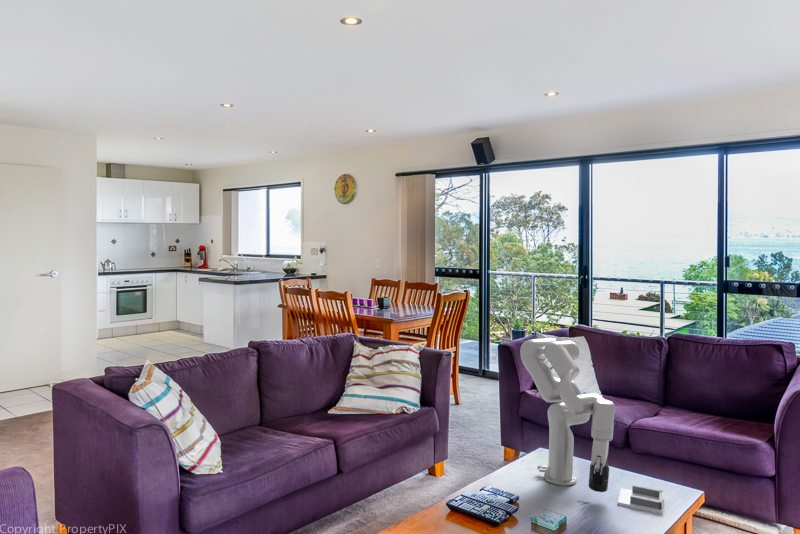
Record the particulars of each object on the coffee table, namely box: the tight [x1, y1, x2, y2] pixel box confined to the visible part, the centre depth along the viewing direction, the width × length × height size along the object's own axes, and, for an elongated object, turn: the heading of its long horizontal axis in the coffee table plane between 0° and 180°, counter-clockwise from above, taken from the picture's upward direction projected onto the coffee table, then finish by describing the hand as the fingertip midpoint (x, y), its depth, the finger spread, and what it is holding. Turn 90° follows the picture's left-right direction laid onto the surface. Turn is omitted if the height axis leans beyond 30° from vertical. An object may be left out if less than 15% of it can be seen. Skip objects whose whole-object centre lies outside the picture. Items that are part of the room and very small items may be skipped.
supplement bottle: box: [588, 459, 610, 493], centre depth 215 cm, size 7×7×12 cm
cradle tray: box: [617, 484, 664, 515], centre depth 215 cm, size 15×14×4 cm
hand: (598, 479), depth 215 cm, fingers closed on supplement bottle, 6 cm apart
